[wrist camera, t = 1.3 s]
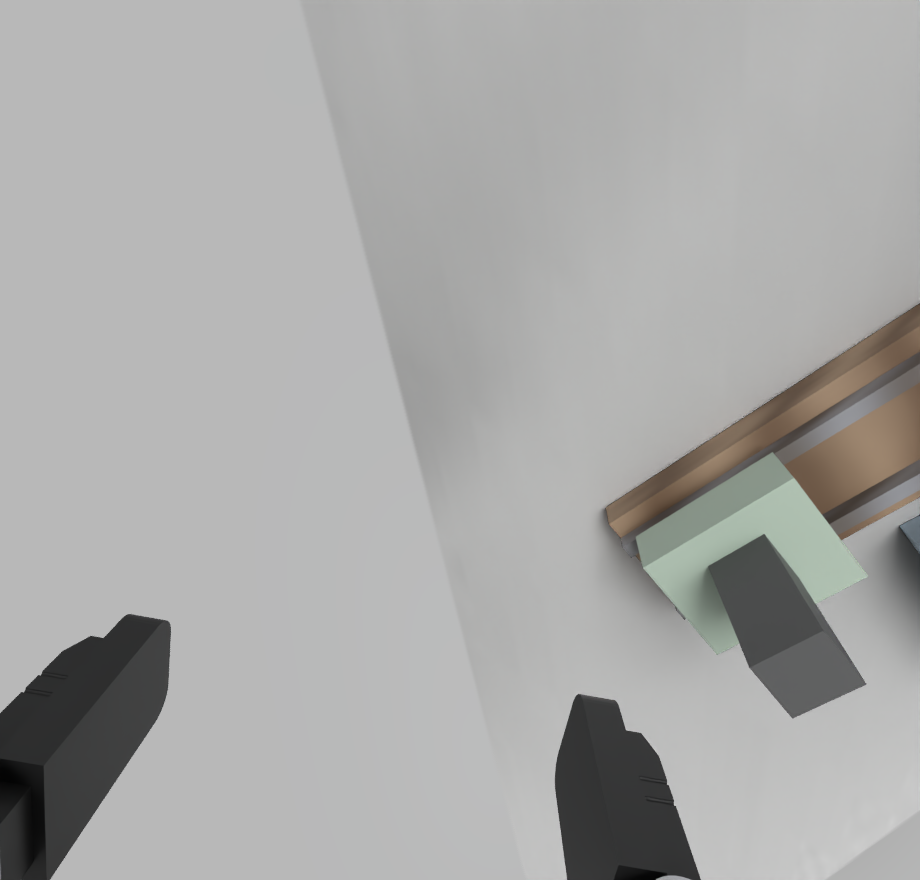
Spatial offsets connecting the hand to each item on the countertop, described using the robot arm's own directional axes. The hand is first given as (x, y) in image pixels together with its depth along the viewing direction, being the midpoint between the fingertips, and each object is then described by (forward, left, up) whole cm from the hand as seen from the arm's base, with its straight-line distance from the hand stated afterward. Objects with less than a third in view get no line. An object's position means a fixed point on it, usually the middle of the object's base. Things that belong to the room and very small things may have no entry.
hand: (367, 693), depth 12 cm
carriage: (-5, +15, -21) cm, 26 cm away
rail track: (-10, +15, -25) cm, 30 cm away
